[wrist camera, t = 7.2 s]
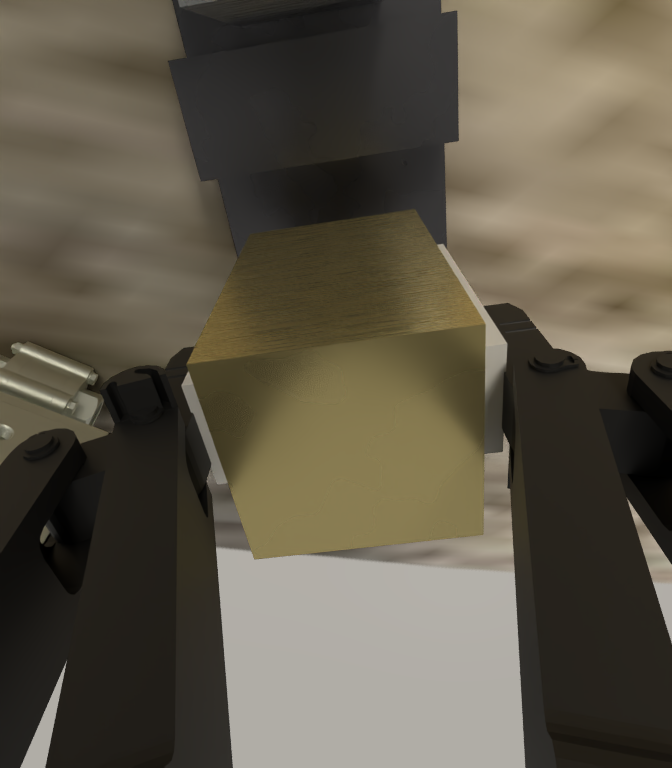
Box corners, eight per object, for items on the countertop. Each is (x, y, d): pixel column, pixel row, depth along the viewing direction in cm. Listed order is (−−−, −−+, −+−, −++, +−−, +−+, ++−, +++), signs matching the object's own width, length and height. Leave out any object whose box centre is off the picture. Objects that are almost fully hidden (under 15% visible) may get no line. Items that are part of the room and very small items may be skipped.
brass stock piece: (249, 233, 15) (186, 364, 8) (414, 208, 15) (486, 323, 8) (283, 374, 18) (254, 559, 11) (424, 355, 18) (483, 534, 11)
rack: (86, -349, 13) (30, -443, 11) (427, -429, 13) (451, -549, 10) (266, 361, 25) (259, 395, 23) (447, 338, 25) (460, 370, 22)
